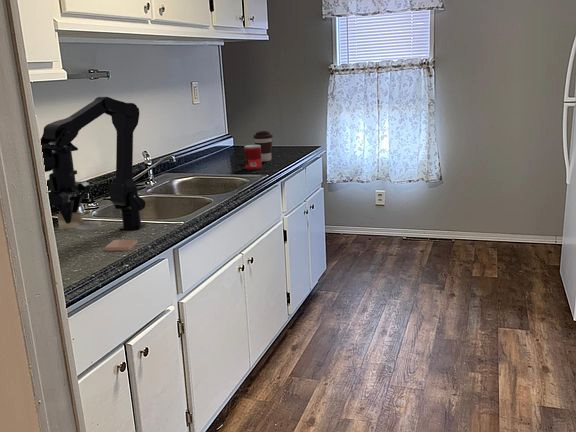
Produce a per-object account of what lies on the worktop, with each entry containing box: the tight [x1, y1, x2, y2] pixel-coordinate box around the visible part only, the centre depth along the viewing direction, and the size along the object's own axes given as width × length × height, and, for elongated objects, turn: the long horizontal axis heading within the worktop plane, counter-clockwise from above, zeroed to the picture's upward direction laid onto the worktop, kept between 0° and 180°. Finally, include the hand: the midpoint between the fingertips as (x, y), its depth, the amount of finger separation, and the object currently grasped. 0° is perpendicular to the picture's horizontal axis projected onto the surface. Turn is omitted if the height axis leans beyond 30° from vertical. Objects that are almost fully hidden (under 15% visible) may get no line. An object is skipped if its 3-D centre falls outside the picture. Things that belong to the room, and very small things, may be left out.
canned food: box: [243, 144, 263, 171], centre depth 283 cm, size 8×8×11 cm
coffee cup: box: [252, 130, 273, 163], centre depth 303 cm, size 10×10×15 cm
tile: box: [104, 239, 138, 252], centre depth 169 cm, size 7×2×7 cm
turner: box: [56, 211, 102, 230], centre depth 168 cm, size 5×11×4 cm, turn 85°
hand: (70, 221), depth 168 cm, fingers closed on turner, 3 cm apart
